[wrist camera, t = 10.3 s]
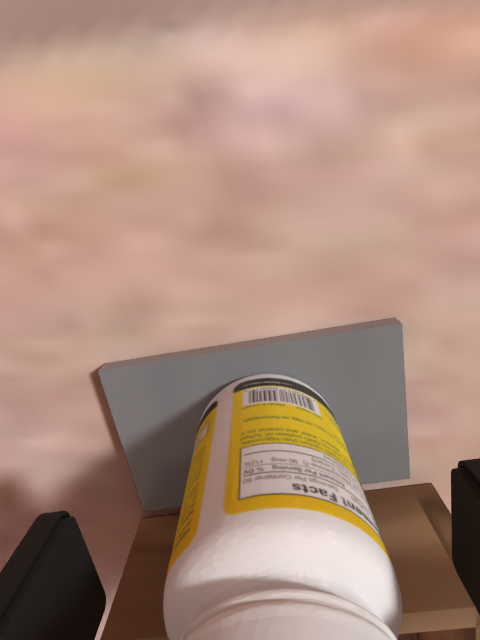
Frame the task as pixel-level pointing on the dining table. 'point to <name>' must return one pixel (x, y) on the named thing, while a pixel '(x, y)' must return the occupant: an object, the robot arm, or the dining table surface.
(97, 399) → the dining table surface
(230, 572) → the supplement bottle
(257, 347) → the slate coaster
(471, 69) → the dining table surface
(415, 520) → the walnut bay
